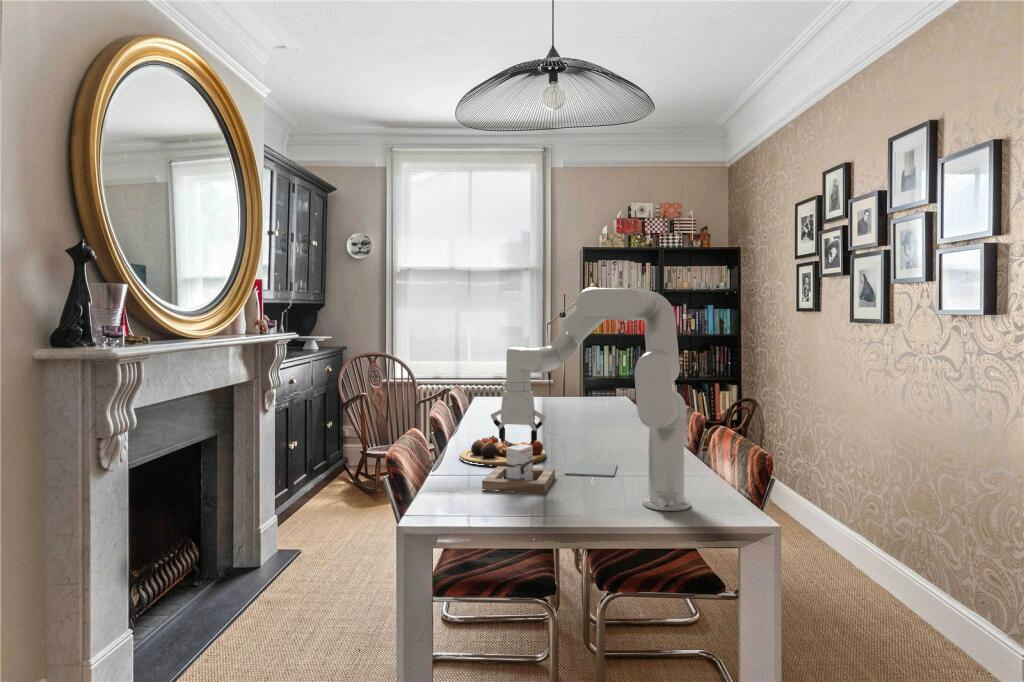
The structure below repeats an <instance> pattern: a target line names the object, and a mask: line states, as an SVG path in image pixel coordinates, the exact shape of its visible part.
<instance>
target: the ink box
mask: <svg viewBox="0 0 1024 682" xmlns="http://www.w3.org/2000/svg"><path fill="white" fill-rule="evenodd" d="M517 444H518V443H517ZM506 464H507V466H505V467H506V470H507V477H506V478H505V479H509V480H530V481H534V479H533V468H534V467H533V465H534V463H533V446H531V445H525V444H518V445H515V446H511V447H508V448H507V449H506Z"/></svg>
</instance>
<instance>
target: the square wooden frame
mask: <svg viewBox="0 0 1024 682" xmlns="http://www.w3.org/2000/svg"><path fill="white" fill-rule="evenodd" d="M555 470H556V469H555V468H551V467H549V468H548V467H546V468H545V467H533V481H530V480H509V479H506V478H504V479H502V478H503V477H507V470H506V466H497V467H494V469H493V470H492V471H491V472H490V473H489V474H487V476H486V477H484V478H483V480H481V490H482V489H485V490H499V491H514V492H513V493H516V492H527V493H526V494H535V493H542V494H541V495H545V494H546V493H547V491H548V490H547V489H549V488H550V487H551V485H552V483H553V482H554V481H555V479H556V471H555ZM554 478H555V479H554ZM552 481H553V482H552ZM550 484H551V485H550ZM549 486H550V487H549Z"/></svg>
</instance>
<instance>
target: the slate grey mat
mask: <svg viewBox="0 0 1024 682" xmlns="http://www.w3.org/2000/svg"><path fill="white" fill-rule="evenodd" d="M617 468H618V464H617V463H605V462H604V463H603V462H577V461H576V462H575V461H571V462H570V463H569V465H568V467H567V468H566V470H565V471H564V475H565V474H567V475H566V476H580V475H585V476H587V477H602V476H605V477H606V478H607V477H609V478H613V477H615V475H616V470H617ZM605 477H604V478H605Z"/></svg>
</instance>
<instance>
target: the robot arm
mask: <svg viewBox="0 0 1024 682" xmlns="http://www.w3.org/2000/svg"><path fill="white" fill-rule="evenodd" d="M605 320H618V321H620V320H622V321H639V320H640V321H643V322H644V323H645V330H644V331H645V332H644V340H645V353H644V354H642V355H641V356H640V357H639V358H638V359H637V362H636V364H635V367H634V383H635V384H634V385H635V401H636V409H637V410H636V411H637V415H638V418H639V420H640V422H641V423H642V424H643V425H644V426H645V427H646V428H648V445H647V446H648V447H647V448H648V449H647V450H648V460H647V461H648V463H647V464H648V465H647V466H648V469H647V470H648V474H647V477H648V480H647V481H648V487H647V489H648V495H647V496H644V497H643V498H642V505H644V506H645V507H646V508H649V509H652V510H657V511H663V512H679V511H685V510H687V509H689V508H690V507H691V501H690V500H689V499H688V498H686V497H685V433H686V432H685V431H686V430H685V429H686V421H687V405H686V401H685V399H684V397H683V396H682V395H681V394H680V393H679V392H677V391H676V390H673V389H672V383H673V382H675V381H676V380H677V379H678V377H679V375H680V370H681V366H680V357H679V345H678V344H679V343H678V341H679V340H678V335H677V333H678V332H677V322H676V321H677V320H676V315H675V311H674V309H673V306H672V305H671V303H670V302H669V300H668V299H667V298H666V297H664V296H663V295H662V294H660V293H658V292H655V291H653V290H649V289H646V288H630V287H629V288H628V287H625V288H624V287H622V288H621V287H620V288H619V287H615V288H614V287H587V288H585V289H583V290H581V291H580V293H578V295H577V297H576V300H575V307H574V308H573V309H572V310H571V311H570V312H569V313H568V314H567V315H565V317H563V318H562V320H561V325H562V329H561V331H560V333H559V335H558V336H557V337H556V338H554V339H553V341H551V342H550V343H549V344H548V345H547V346H541V347H540V346H539V347H533V348H528V347H526V346H525V347H524V346H513V347H512V346H511V347H509V348H507V350H506V364H505V365H506V378H505V379H506V380H505V382H502V383H501V387H502V388H505V391H503V392H502V398H501V407H500V409H499V410H497V411H495V412H493V413H491V414H490V418H491V419H492V421H493V424H494V425H495V426H496V427H497V429H498V437H499V438H498V440H499V439H500V442H501V443H502V442H503V441H505V440H506V427H505V426H506V425H517V426H518V425H519V426H529V427H530V428H531V432H530V437H531V438H530V442H531V443H532V444H534V443H535V441H538V430H539V428H540V427H541V426H543V424H544V423H545V421H546V419H547V416H546V415H544V414H543V413H541V412H539V411H538V410H536V409H535V399H534V398H535V397H534V392H533V391H531V388H532V387H531V385H532V384H531V383H532V382H531V381H532V380H531V376H532V373H533V374H541V373H544V372H551V371H555V370H556V369H557V368H559V367H561V366H562V365H563V364H565V362H566V361H568V360H569V358H571V357H572V356H573V355H574V354H575V353H576V352H577V350H578V349H579V347H580V346H581V344H582V343H583V341H584V340H585V339H587V337H588V336H590V334H591V333H593V331H594V330H595V329H597V328H599V326H600V325H601V324H602V323H603V322H604V321H605ZM498 416H500V420H499V419H498ZM536 417H537V418H538V419H539V422H538V423H536V422H535V420H536Z"/></svg>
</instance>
